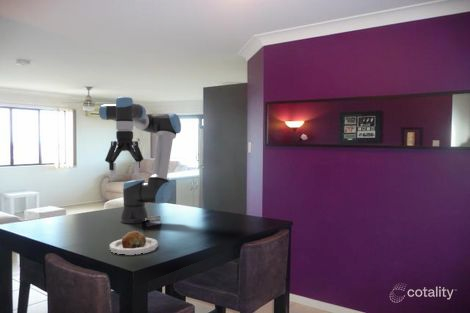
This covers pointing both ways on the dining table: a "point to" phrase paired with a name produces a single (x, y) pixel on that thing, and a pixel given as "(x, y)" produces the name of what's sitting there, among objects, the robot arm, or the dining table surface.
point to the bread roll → (133, 240)
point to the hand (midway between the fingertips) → (125, 176)
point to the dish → (118, 248)
